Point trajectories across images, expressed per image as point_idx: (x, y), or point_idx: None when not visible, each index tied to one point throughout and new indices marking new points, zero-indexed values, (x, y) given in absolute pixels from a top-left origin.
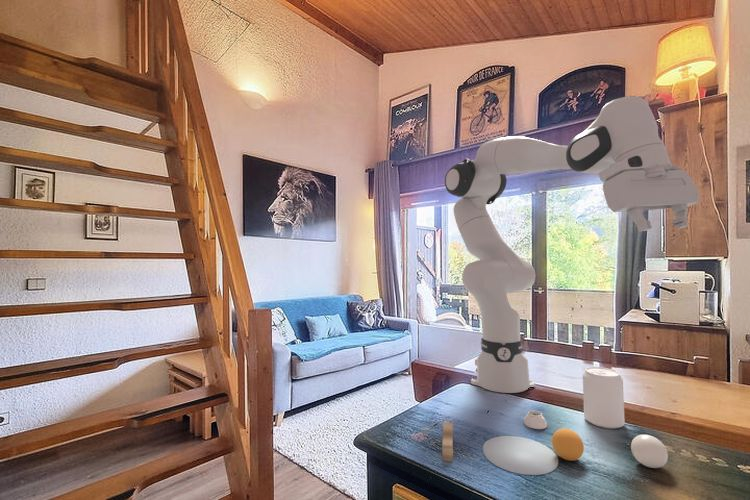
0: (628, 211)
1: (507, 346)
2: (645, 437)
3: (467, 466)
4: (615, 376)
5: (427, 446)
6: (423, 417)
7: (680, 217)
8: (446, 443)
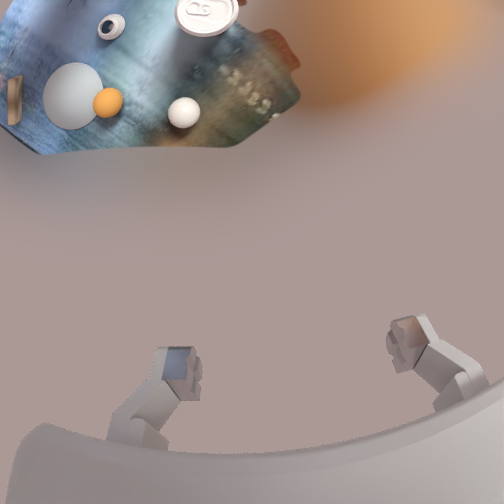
0: (111, 438)
1: None
2: (177, 119)
3: (31, 123)
4: (210, 32)
5: (5, 99)
6: (4, 40)
7: (422, 365)
8: (10, 121)
